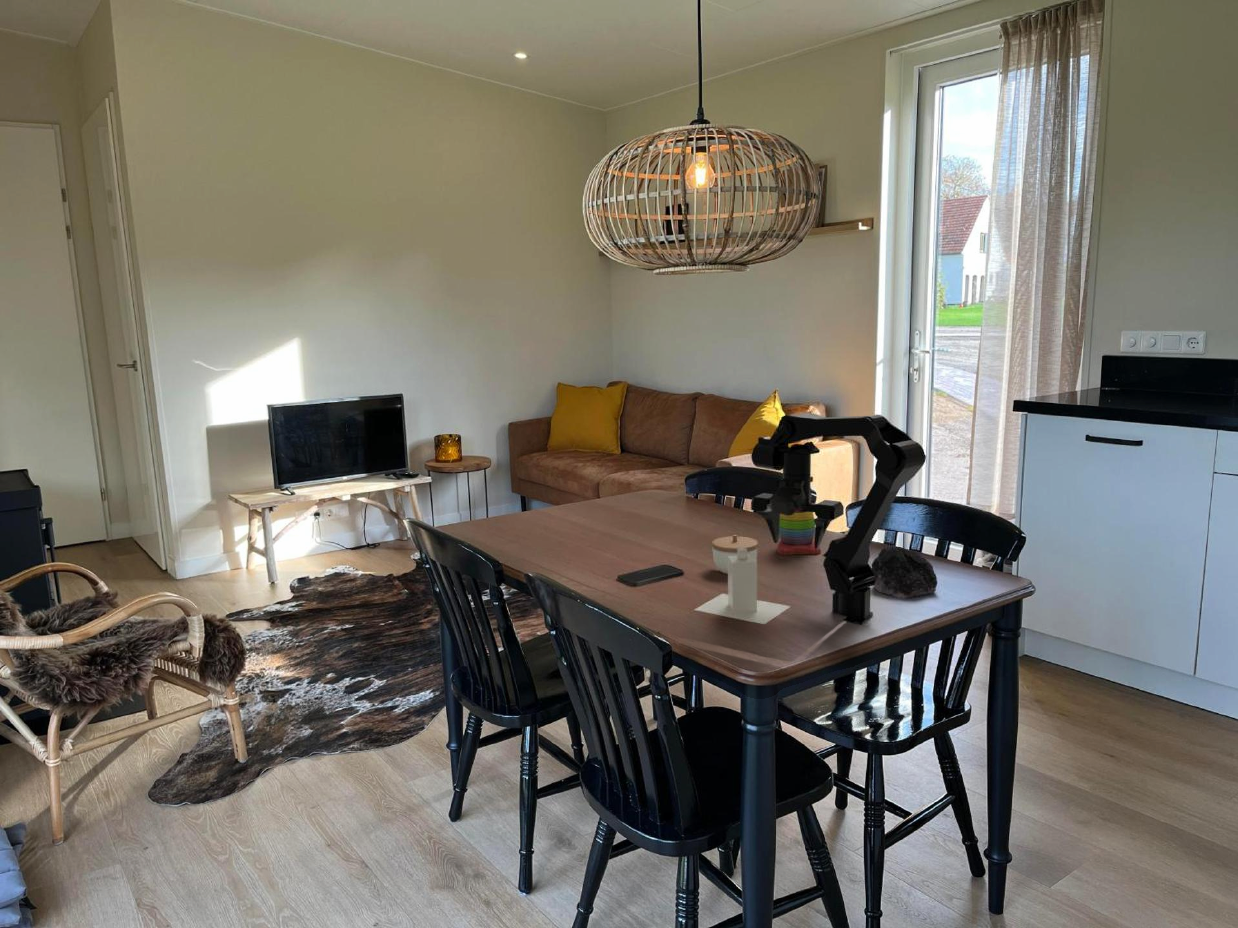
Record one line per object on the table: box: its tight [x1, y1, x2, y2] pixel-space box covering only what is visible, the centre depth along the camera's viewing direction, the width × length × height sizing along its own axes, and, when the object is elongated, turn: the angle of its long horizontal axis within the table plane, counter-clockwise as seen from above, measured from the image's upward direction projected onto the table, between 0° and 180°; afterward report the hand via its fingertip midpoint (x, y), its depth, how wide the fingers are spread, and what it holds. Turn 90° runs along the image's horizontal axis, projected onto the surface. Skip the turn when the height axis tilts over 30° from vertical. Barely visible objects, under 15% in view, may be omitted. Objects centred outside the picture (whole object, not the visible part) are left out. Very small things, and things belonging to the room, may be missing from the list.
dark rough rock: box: [871, 546, 938, 599], centre depth 189 cm, size 13×14×10 cm
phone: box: [616, 564, 685, 587], centre depth 204 cm, size 8×1×15 cm
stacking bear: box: [776, 492, 822, 556], centre depth 221 cm, size 11×10×18 cm
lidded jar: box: [711, 534, 759, 575], centre depth 204 cm, size 11×11×9 cm
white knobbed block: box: [727, 548, 758, 613], centre depth 177 cm, size 5×5×12 cm
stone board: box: [694, 593, 791, 625], centre depth 178 cm, size 16×12×1 cm
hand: (796, 545), depth 183 cm, fingers open, 9 cm apart
